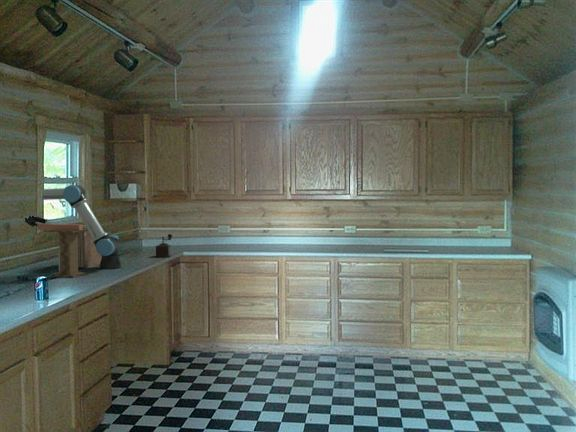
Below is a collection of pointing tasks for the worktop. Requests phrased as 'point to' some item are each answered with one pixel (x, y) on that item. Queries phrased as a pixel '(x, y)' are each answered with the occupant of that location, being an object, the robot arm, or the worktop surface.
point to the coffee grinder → (164, 248)
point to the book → (87, 250)
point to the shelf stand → (68, 254)
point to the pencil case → (59, 226)
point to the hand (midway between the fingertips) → (49, 226)
